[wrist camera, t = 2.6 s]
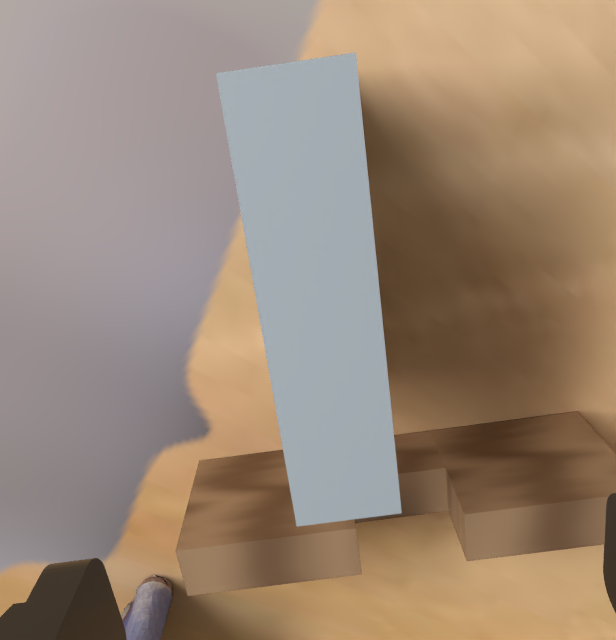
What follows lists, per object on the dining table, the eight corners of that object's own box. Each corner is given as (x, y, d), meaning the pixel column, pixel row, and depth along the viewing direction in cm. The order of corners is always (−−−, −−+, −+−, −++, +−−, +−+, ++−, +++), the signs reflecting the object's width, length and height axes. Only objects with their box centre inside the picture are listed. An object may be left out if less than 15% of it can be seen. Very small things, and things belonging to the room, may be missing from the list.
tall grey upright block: (295, 368, 36) (296, 526, 22) (250, 84, 30) (216, 73, 17) (361, 359, 35) (401, 513, 22) (328, 72, 30) (355, 52, 17)
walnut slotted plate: (208, 499, 39) (187, 596, 31) (199, 460, 38) (175, 551, 30) (576, 452, 38) (646, 539, 30) (577, 411, 37) (649, 491, 29)
